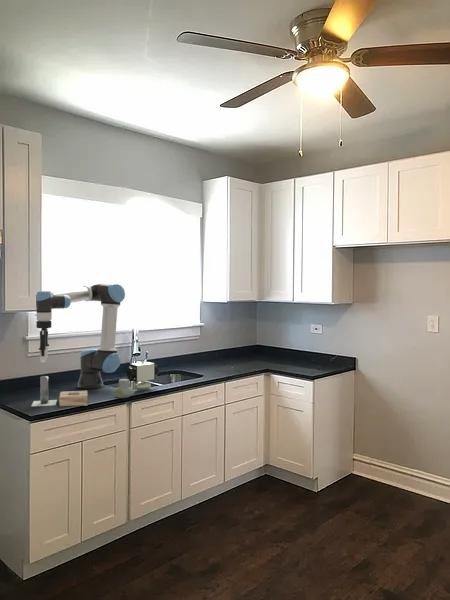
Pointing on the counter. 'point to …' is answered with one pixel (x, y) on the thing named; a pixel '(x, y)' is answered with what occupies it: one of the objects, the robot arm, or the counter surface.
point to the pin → (44, 389)
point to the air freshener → (123, 389)
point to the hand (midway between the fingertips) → (44, 360)
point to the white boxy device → (142, 374)
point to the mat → (38, 403)
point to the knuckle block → (73, 398)
